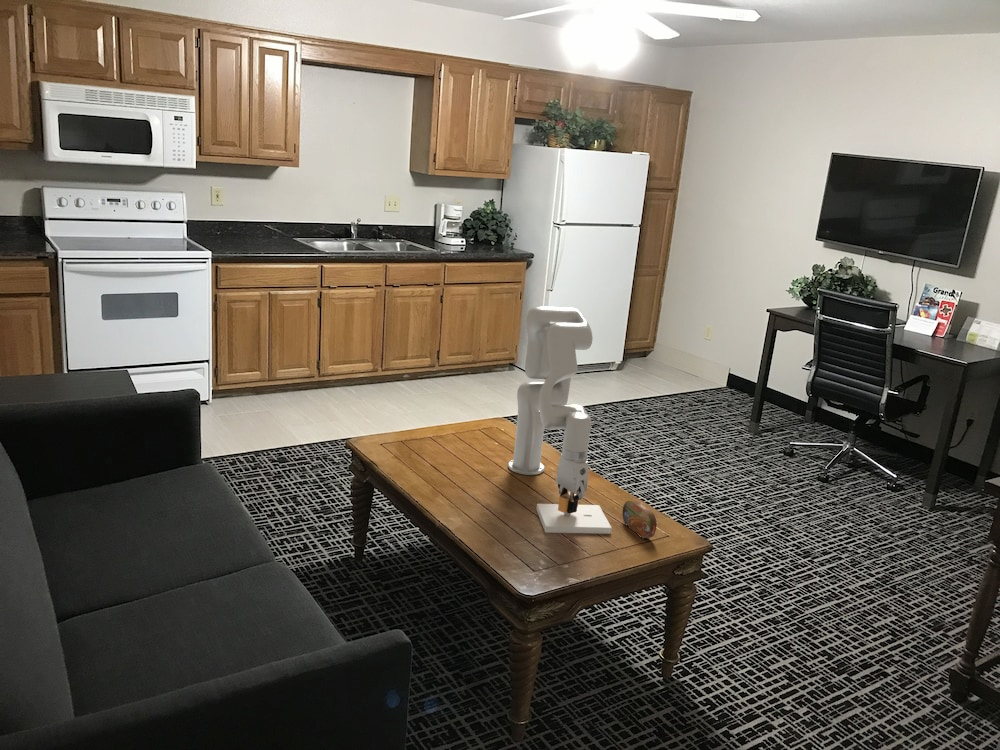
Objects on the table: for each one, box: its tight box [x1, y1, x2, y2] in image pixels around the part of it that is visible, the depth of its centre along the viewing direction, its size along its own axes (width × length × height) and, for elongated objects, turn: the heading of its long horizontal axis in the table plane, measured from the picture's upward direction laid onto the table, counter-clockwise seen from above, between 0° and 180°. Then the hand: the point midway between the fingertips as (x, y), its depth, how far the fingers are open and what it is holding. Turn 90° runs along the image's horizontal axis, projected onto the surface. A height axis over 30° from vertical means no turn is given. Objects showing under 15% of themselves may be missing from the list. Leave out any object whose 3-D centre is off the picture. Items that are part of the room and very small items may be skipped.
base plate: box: [536, 503, 612, 535], centre depth 245 cm, size 15×20×4 cm
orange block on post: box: [558, 491, 579, 513], centre depth 243 cm, size 7×2×5 cm, turn 140°
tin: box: [622, 500, 658, 539], centre depth 242 cm, size 15×3×8 cm, turn 23°
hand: (567, 508), depth 244 cm, fingers closed on orange block on post, 3 cm apart
